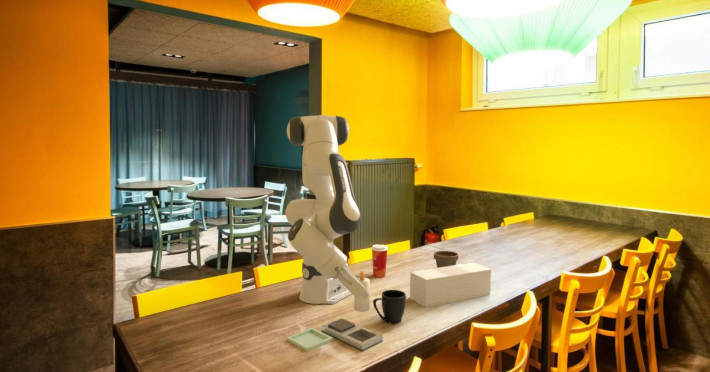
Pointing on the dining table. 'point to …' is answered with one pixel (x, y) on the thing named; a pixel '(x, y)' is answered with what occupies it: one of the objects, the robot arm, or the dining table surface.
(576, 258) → the dining table surface
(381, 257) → the paper cup
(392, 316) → the mug
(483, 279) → the stack of papers
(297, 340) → the tray
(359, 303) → the white candle
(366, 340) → the grey rectangular piece
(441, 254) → the flower pot
